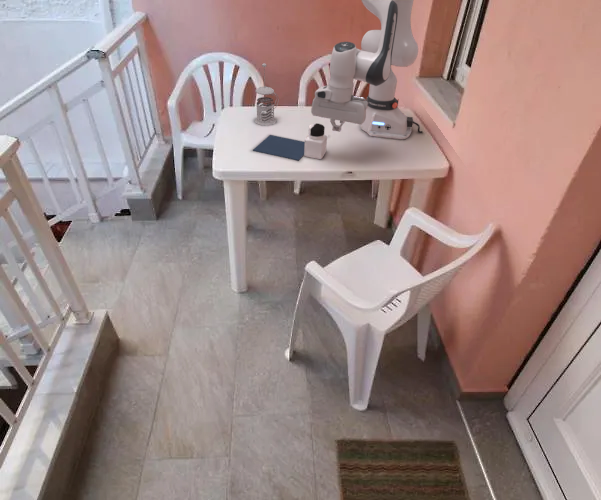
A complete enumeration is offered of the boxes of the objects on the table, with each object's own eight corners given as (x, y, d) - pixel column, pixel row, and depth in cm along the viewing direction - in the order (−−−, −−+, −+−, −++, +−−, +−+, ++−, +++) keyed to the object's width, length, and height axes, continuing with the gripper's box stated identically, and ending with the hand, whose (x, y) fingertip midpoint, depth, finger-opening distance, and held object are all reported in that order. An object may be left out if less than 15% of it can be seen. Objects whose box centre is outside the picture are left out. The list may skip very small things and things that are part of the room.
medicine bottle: (326, 152, 167) (328, 123, 159) (321, 159, 161) (323, 130, 154) (309, 149, 168) (310, 120, 161) (303, 156, 163) (304, 127, 156)
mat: (313, 144, 172) (313, 143, 172) (298, 160, 160) (298, 159, 160) (270, 135, 177) (270, 134, 177) (252, 150, 166) (252, 149, 166)
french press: (250, 119, 190) (247, 62, 174) (271, 114, 195) (270, 58, 180) (262, 127, 184) (260, 68, 168) (283, 121, 189) (283, 63, 174)
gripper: (370, 95, 146) (365, 132, 155) (316, 86, 152) (314, 122, 160) (366, 101, 141) (361, 139, 150) (310, 91, 147) (308, 128, 156)
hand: (336, 130), depth 155 cm, fingers closed
